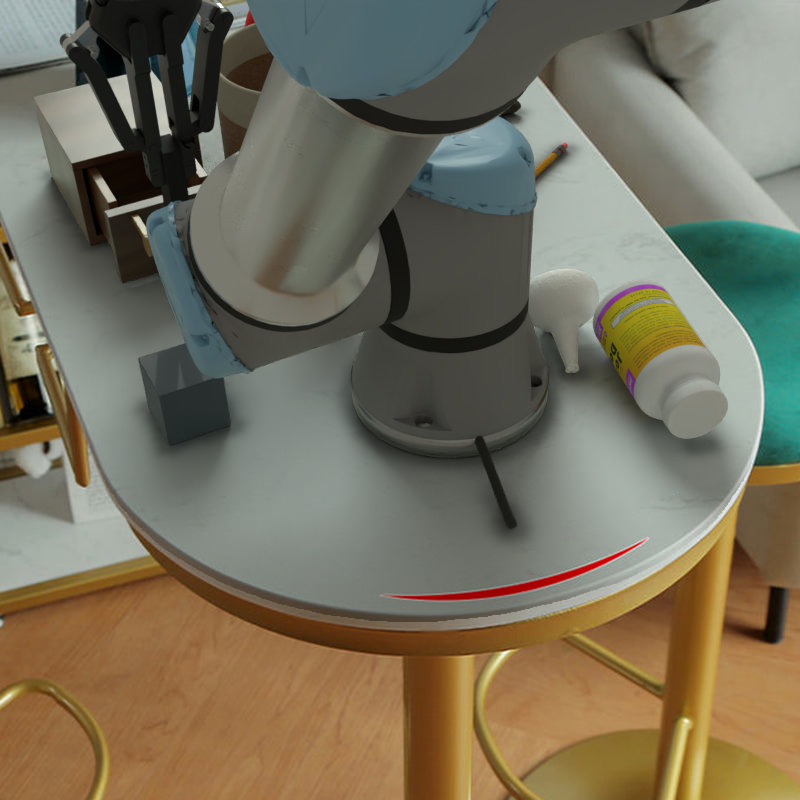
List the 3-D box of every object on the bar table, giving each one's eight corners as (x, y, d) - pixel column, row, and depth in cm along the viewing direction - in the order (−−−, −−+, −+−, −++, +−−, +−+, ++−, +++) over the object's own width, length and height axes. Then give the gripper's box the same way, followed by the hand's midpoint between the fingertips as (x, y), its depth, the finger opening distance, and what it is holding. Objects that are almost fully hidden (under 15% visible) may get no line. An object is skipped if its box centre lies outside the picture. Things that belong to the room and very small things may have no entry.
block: (231, 425, 96) (223, 375, 93) (169, 446, 95) (158, 396, 91) (208, 387, 100) (200, 338, 96) (148, 407, 98) (137, 357, 95)
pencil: (569, 142, 124) (568, 149, 125) (563, 140, 125) (561, 147, 125) (468, 236, 113) (467, 243, 114) (461, 233, 113) (460, 240, 114)
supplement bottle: (576, 307, 98) (641, 413, 89) (649, 260, 97) (723, 363, 88) (609, 357, 103) (674, 463, 94) (679, 313, 102) (753, 416, 92)
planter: (238, 243, 114) (219, 106, 105) (222, 154, 126) (204, 24, 116) (409, 220, 116) (406, 83, 107) (378, 135, 128) (372, 5, 119)
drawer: (257, 282, 108) (248, 213, 104) (141, 318, 105) (127, 248, 100) (188, 184, 120) (177, 118, 116) (82, 213, 117) (66, 147, 112)
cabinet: (210, 211, 118) (198, 130, 113) (90, 245, 115) (71, 163, 109) (163, 146, 128) (150, 68, 122) (51, 176, 124) (32, 96, 118)
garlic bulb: (606, 262, 101) (630, 346, 97) (574, 305, 106) (595, 387, 102) (535, 257, 99) (557, 344, 95) (505, 302, 104) (525, 385, 100)
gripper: (201, -107, 92) (235, 170, 108) (24, -72, 88) (88, 211, 104) (238, -71, 87) (268, 214, 103) (53, -33, 83) (115, 258, 99)
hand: (178, 212), depth 103 cm, fingers closed
